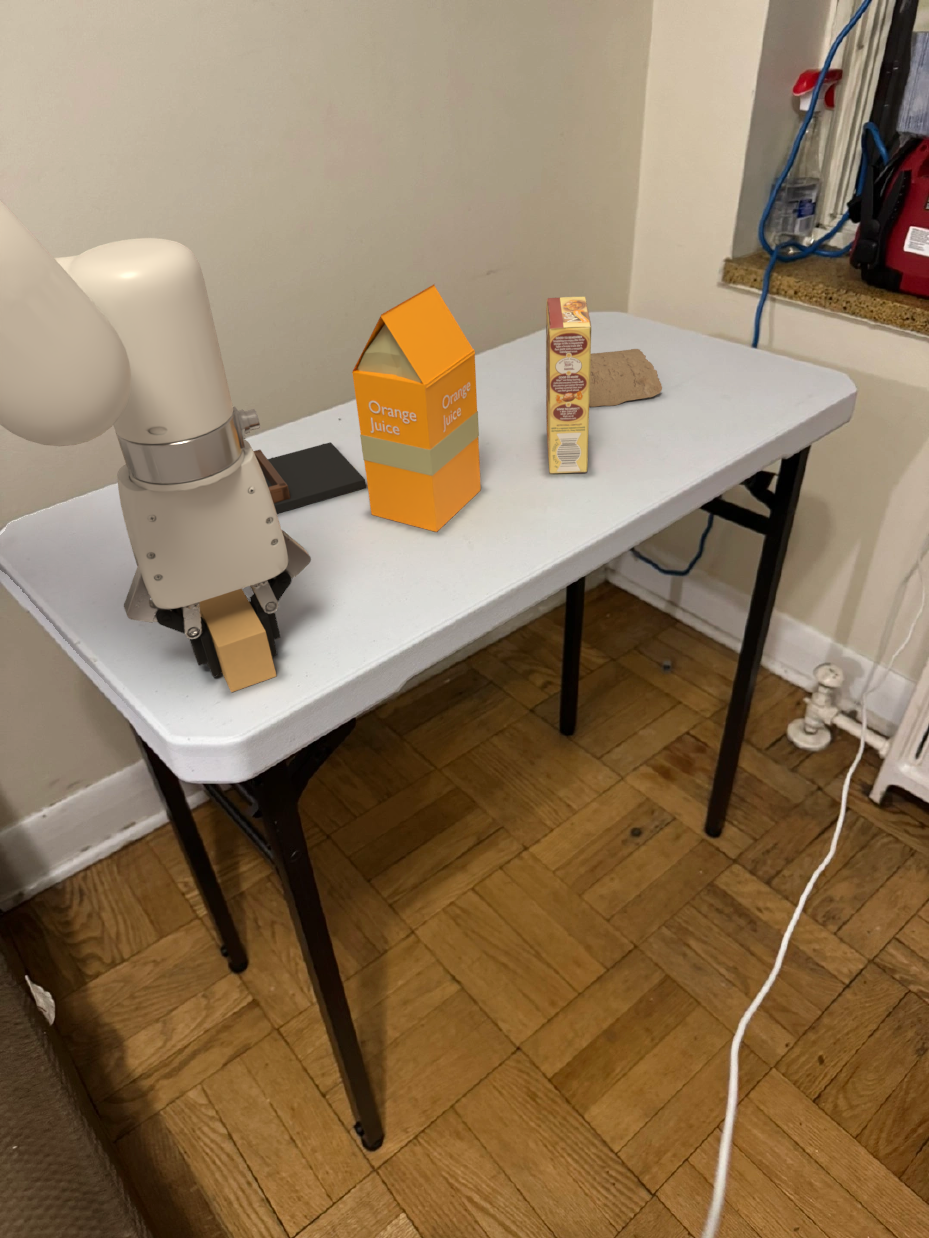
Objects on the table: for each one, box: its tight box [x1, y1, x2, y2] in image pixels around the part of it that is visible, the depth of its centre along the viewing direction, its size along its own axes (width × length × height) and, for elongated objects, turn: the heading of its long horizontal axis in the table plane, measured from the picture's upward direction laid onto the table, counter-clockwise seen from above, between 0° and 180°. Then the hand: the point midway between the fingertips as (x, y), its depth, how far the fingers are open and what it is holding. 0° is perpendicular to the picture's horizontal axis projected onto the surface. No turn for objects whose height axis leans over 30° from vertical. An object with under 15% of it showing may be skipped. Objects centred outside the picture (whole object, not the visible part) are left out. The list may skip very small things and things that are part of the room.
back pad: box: [253, 442, 367, 514], centre depth 88 cm, size 20×10×2 cm, turn 118°
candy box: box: [545, 296, 592, 474], centre depth 88 cm, size 9×4×15 cm, turn 178°
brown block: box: [200, 588, 277, 693], centre depth 67 cm, size 4×7×4 cm, turn 28°
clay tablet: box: [589, 348, 663, 408], centre depth 107 cm, size 14×10×3 cm
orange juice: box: [351, 283, 482, 533], centre depth 80 cm, size 8×9×20 cm
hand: (240, 654), depth 68 cm, fingers open, 3 cm apart
